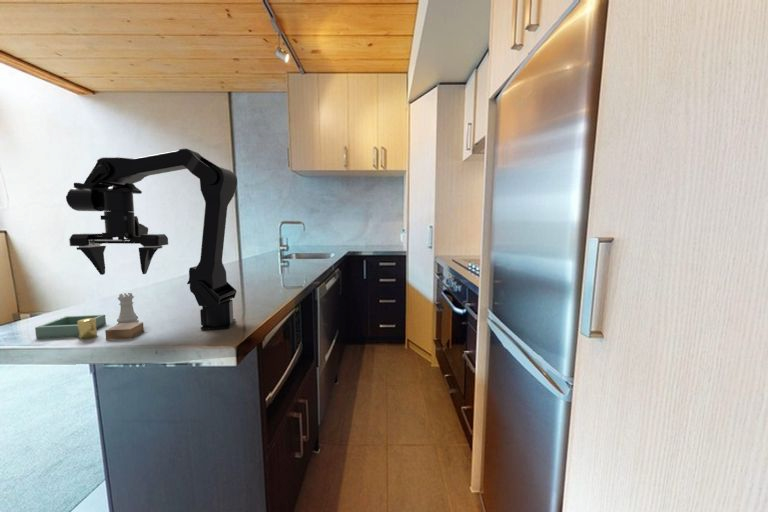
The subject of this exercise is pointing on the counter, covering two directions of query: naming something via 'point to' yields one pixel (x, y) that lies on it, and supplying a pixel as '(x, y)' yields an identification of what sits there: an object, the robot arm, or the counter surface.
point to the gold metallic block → (87, 328)
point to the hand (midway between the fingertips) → (123, 274)
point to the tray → (66, 326)
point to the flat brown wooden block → (124, 330)
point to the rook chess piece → (127, 309)
